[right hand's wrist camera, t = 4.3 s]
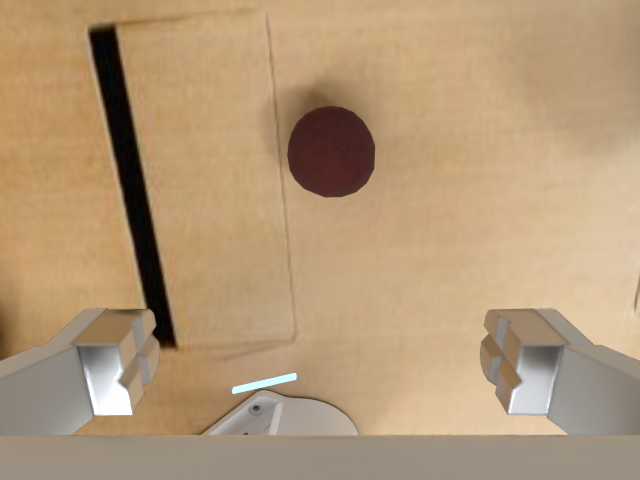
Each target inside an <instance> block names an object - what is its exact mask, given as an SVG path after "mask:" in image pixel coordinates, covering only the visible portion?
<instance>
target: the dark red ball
mask: <svg viewBox="0 0 640 480" xmlns="http://www.w3.org/2000/svg"><path fill="white" fill-rule="evenodd" d="M374 160H375V144H374V142H373V139H372V136H371V133H370V131H369V130H368V128H367V127H366V125H365V124H364V122H363V120H362V119H360V118H359V117H358V116H357V115H356V114H355V113H353V112H351V111H349V110H347V109H344V108H342V107H333V106H328V107H323V108H318V109H315V110H313V111H311V112H309V113H307V114H306V115H304V116H303V117H302V118H301V119H300V120H299V121H298V122H297V124H296V126H295V128H294V130H293V131H292V134H291V137H290V141H289V145H288V162H289V168H290V171H291V173H292V175H293V177H294V179H295V180H296V181H297V182H298V183H299V184H300V185H301V186H302V187H303V188H304V189H306V190H308V191H311V192H313V193H315V194H318V195H320V196H323V197H343V196H346V195H349V194H352V193H355V192H357V191H358V190H359V189H360V188H361V187H363V186H364V185H365V184H366V183H367V182H368V180H369V178H370V176H371V174H372V172H373V170H374Z"/></svg>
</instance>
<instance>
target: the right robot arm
mask: <svg viewBox="0 0 640 480" xmlns="http://www.w3.org/2000/svg"><path fill="white" fill-rule="evenodd" d="M155 327H156V322H155V317H154V313H153V312H152V311H151V310H150V309H108V308H95V309H84V310H83V311H82V312H81V313H80V314H79V315H78V316H77V317H75V318H74V319H73V320H72V321H71V322H70V323H69V324H68V325H67V326H66V327H65V328H63V329H62V330H61V331H60V332H59V333H58V334H57V335H56V336H55V337H54V338H53V339H51V340H50V341H49V342H48V343H47V344H46V345H38V346H35V347H33V348H30V349H28V350H25V351H23V352H21V353H18V354H16V355H13V356H11V357H8V358H6V359H4V360H1V361H0V480H640V361H639V360H636V359H634V358H632V357H629V356H627V355H624V354H622V353H619V352H617V351H615V350H612V349H610V348H607V347H605V346H602V345H594V344H593V343H592V342H591V341H590V340H589V339H587V338H586V337H585V336H584V335H583V334H582V333H581V332H580V331H579V330H578V329H577V328H576V327H574V326H573V325H572V324H571V323H570V322H569V321H568V320H567V319H566V318H565V317H564V316H562V315H561V314H560V313H559V312H558V311H557V310H555V309H552V308H541V309H496V310H488V312H487V314H486V316H485V322H484V327H485V328H486V330H487V331H488V333H489V334H488V335H487V336H486V337H485V338H484V339H483V340H482V341H481V348H480V360H481V366H482V369H483V373H484V375H485V376H486V378H487V380H488V381H489V382H491V383H493V384H494V385H496V386H497V387H496V393H495V394H496V396H497V397H498V399H499V401H500V402H501V404H502V406H503V408H504V409H505V411H506V413H507V414H508V415H533V416H547V417H546V418H548V419H549V420H550V421H552V422H553V423H554V424H556V425H557V426H558V427H560V428H561V429H562V430H564V431H565V432H566V433H568V434H569V435H358V432H357V429H356V427H355V426H354V424H353V423H352V421H351V420H350V419H349V418H348V417H347V416H346V415H345V414H344V413H343V412H341V411H340V410H338V409H337V408H335V407H333V406H331V405H329V404H327V403H324V402H321V401H317V400H312V399H304V398H289V397H285V396H282V395H280V394H277V393H274V392H272V391H268V390H260V391H258V392H256V393H255V394H254V395H252V396H251V397H250V398H248V399H247V400H246V401H244V402H243V403H242V404H240V405H239V406H238V407H236V408H235V409H234V410H233V411H231V412H230V413H229V414H227V415H226V416H225V417H223V418H222V419H221V420H219V421H218V422H217V423H215V424H214V425H213V426H212V427H210V428H209V429H208V430H206V431H205V432H204V433H202V434H201V435H71V434H73V433H74V432H75V431H77V430H78V429H79V428H81V427H82V426H83V425H84V424H86V423H87V422H88V421H90V420H91V419H92V418H93V416H107V415H132V414H133V413H134V411H135V409H136V408H137V406H138V404H139V402H140V401H141V399H142V397H143V396H144V394H145V393H144V387H143V386H144V385H146V384H147V383H149V382H151V381H152V380H153V378H154V376H155V374H156V373H157V369H158V365H159V361H160V347H159V341H158V340H157V339H156V338H155V337H154V336H153V335H152V334H151V333H152V331H153V330H154V328H155ZM295 379H296V373H293V374H289V375H285V376H280V377H276V378H272V379H267V380H263V381H259V382H254V383H250V384H246V385H241V386H237V387H233V390H232V392H233V394H234V393H239V392H243V391H247V390H252V389H256V388H261V387H265V386H269V385H274V384H278V383H282V382H287V381H291V380H295ZM255 406H259V407H255Z"/></svg>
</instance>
